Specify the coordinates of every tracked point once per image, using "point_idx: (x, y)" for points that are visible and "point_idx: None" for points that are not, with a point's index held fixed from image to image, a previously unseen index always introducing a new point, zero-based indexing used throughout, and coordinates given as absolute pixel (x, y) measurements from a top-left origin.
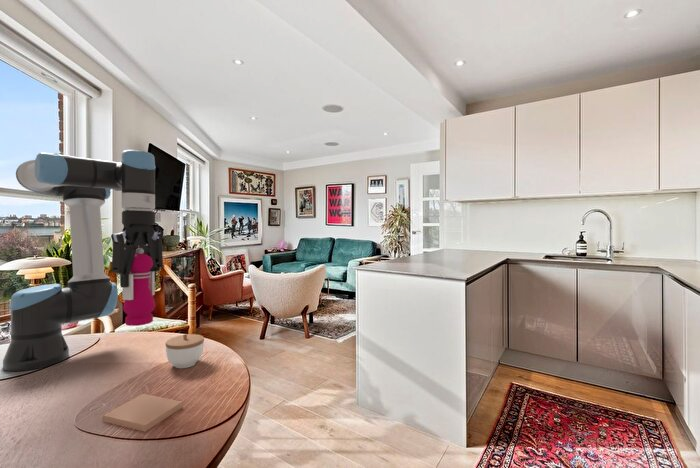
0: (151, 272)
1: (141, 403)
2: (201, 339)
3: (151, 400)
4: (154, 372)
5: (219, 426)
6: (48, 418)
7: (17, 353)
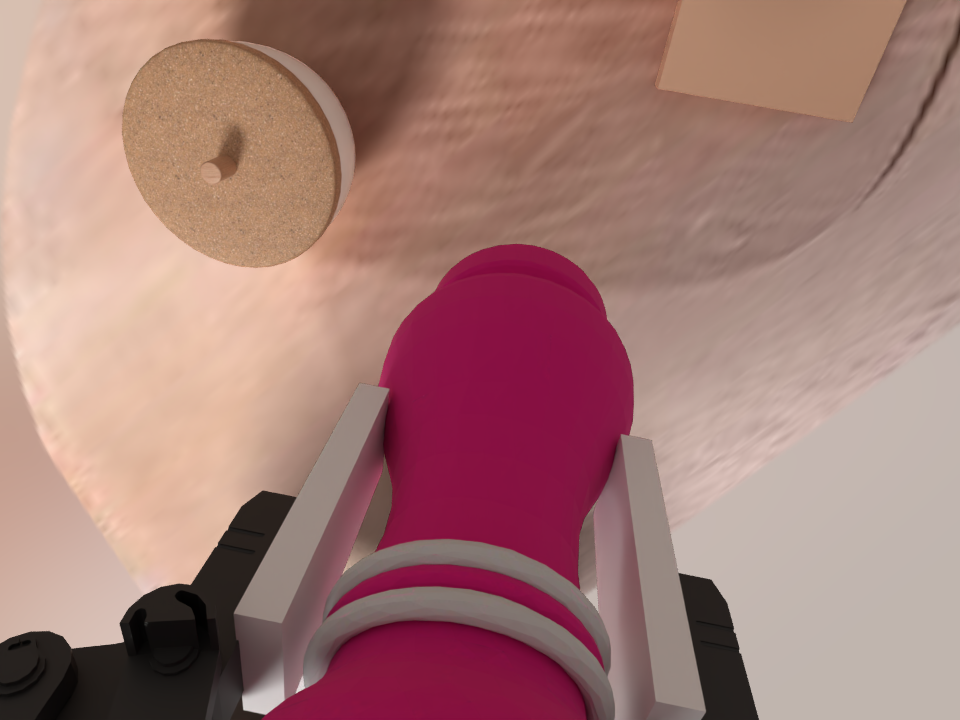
0: (286, 621)
1: (754, 20)
2: (183, 51)
3: None
4: (407, 224)
5: None
6: (798, 332)
7: None
